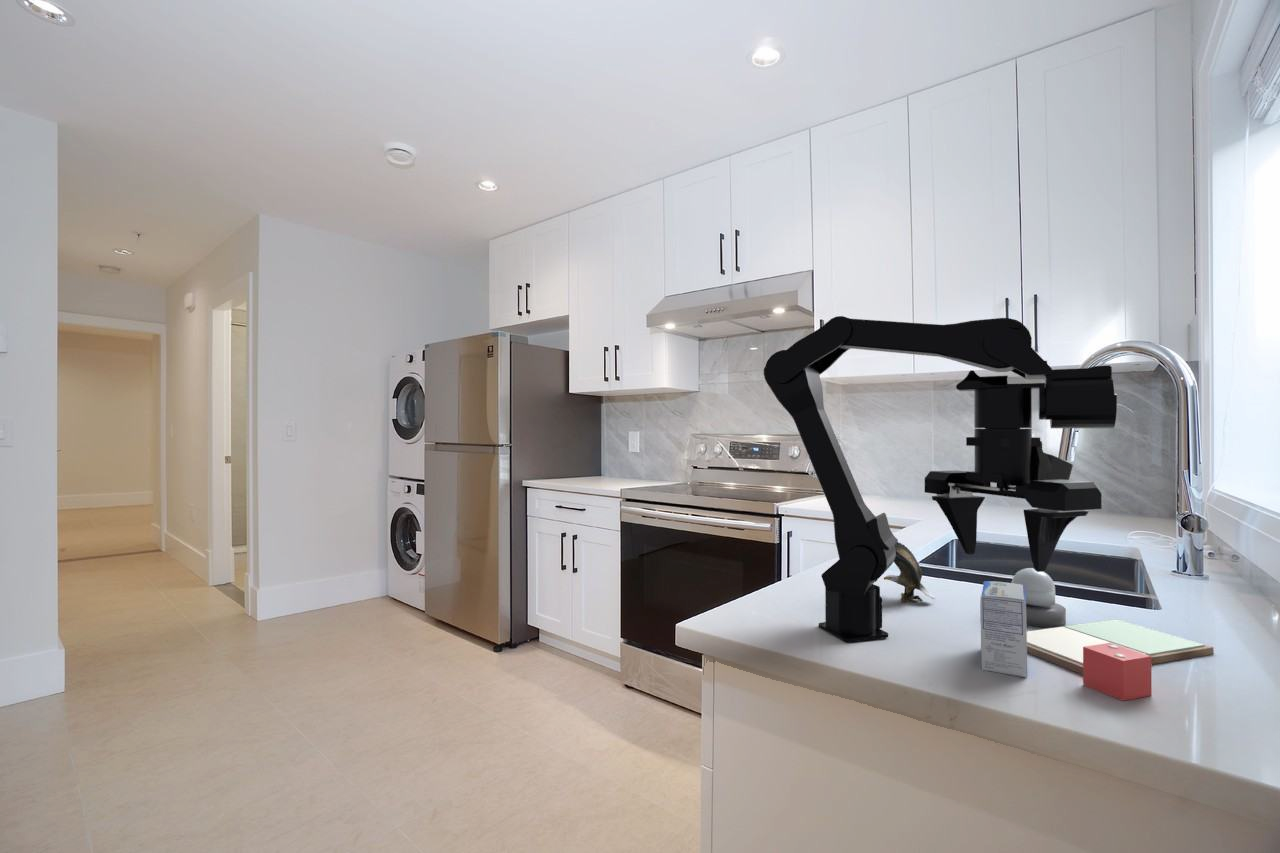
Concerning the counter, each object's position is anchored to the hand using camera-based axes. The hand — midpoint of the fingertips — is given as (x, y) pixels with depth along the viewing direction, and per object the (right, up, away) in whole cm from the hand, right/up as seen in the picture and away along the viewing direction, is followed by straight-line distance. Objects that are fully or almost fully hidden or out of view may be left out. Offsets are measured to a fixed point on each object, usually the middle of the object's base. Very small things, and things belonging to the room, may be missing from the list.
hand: (1002, 562), depth 69 cm
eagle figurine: (0, -12, +24) cm, 27 cm away
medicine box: (0, -12, 0) cm, 12 cm away
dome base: (+14, -12, +16) cm, 24 cm away
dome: (+14, -10, +16) cm, 23 cm away
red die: (+7, -12, -7) cm, 16 cm away
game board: (+15, -12, +5) cm, 20 cm away
